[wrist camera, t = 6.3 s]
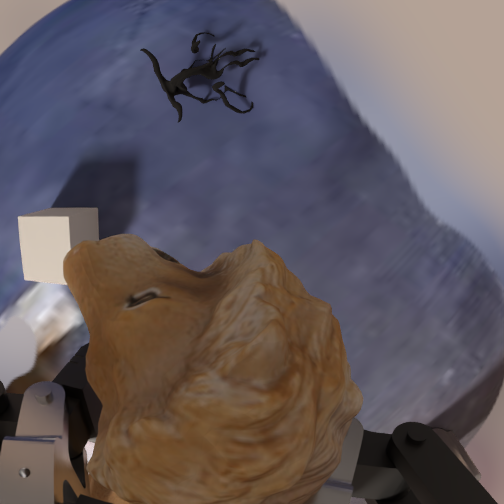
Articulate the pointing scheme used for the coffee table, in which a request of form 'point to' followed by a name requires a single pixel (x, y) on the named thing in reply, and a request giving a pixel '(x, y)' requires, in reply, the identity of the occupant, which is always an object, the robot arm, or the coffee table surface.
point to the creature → (205, 70)
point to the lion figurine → (209, 376)
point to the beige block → (53, 240)
